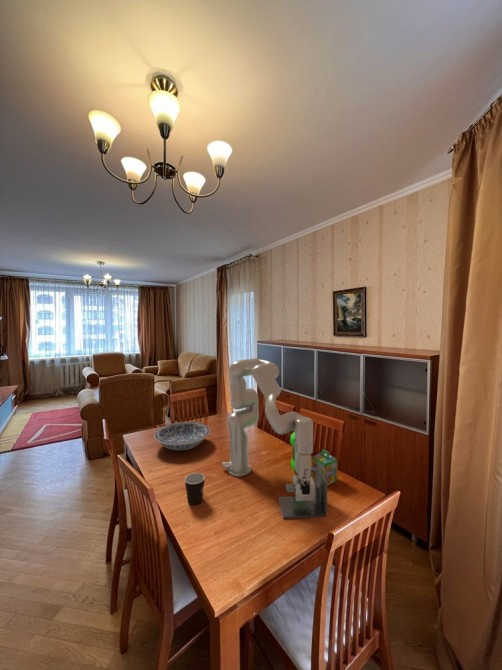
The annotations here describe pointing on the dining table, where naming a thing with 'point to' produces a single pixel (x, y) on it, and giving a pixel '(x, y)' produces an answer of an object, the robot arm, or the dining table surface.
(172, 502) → the dining table surface
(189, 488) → the dark grey cup
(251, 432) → the dining table surface
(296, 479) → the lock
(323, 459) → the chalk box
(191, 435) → the ceramic bowl
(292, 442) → the plastic bottle
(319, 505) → the bracket
